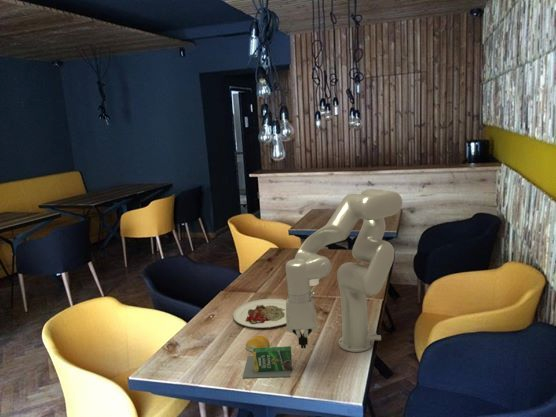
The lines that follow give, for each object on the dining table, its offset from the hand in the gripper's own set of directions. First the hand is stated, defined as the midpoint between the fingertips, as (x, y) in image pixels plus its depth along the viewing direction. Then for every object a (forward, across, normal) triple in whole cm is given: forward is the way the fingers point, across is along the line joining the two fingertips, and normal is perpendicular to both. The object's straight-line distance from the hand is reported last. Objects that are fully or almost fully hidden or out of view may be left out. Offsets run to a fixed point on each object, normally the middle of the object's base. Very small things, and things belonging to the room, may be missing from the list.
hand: (303, 346), depth 151 cm
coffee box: (+4, +4, +1) cm, 6 cm away
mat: (+8, +13, -1) cm, 15 cm away
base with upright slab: (+10, -1, -82) cm, 83 cm away
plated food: (+9, +18, -44) cm, 48 cm away
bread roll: (+8, +19, -15) cm, 25 cm away
